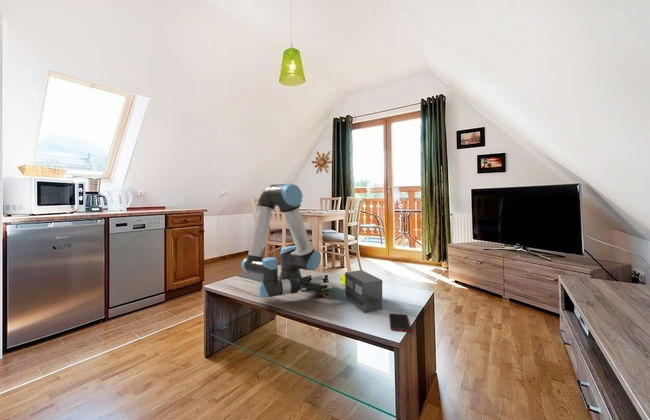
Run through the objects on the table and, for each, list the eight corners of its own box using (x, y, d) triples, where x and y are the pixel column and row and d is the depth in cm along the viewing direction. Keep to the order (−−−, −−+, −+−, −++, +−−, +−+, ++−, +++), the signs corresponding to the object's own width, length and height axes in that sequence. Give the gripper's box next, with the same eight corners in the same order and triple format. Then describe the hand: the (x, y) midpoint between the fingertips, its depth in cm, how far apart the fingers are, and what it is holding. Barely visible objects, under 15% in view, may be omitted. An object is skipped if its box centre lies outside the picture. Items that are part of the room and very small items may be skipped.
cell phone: (390, 331, 104) (390, 329, 104) (389, 315, 118) (389, 313, 118) (411, 333, 102) (411, 331, 102) (407, 316, 117) (407, 314, 117)
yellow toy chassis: (365, 290, 150) (365, 275, 150) (358, 292, 147) (358, 277, 147) (347, 282, 163) (347, 269, 163) (340, 284, 160) (340, 271, 160)
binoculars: (313, 275, 147) (330, 274, 145) (315, 293, 147) (332, 292, 145) (309, 279, 138) (328, 278, 136) (311, 299, 138) (330, 298, 137)
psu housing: (344, 298, 137) (344, 272, 137) (361, 295, 141) (361, 270, 141) (363, 312, 120) (363, 282, 119) (382, 309, 124) (382, 280, 123)
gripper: (283, 286, 146) (319, 281, 154) (296, 302, 123) (336, 295, 131) (283, 273, 146) (318, 268, 154) (296, 286, 123) (336, 281, 131)
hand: (327, 281), depth 142 cm, fingers open, 13 cm apart
